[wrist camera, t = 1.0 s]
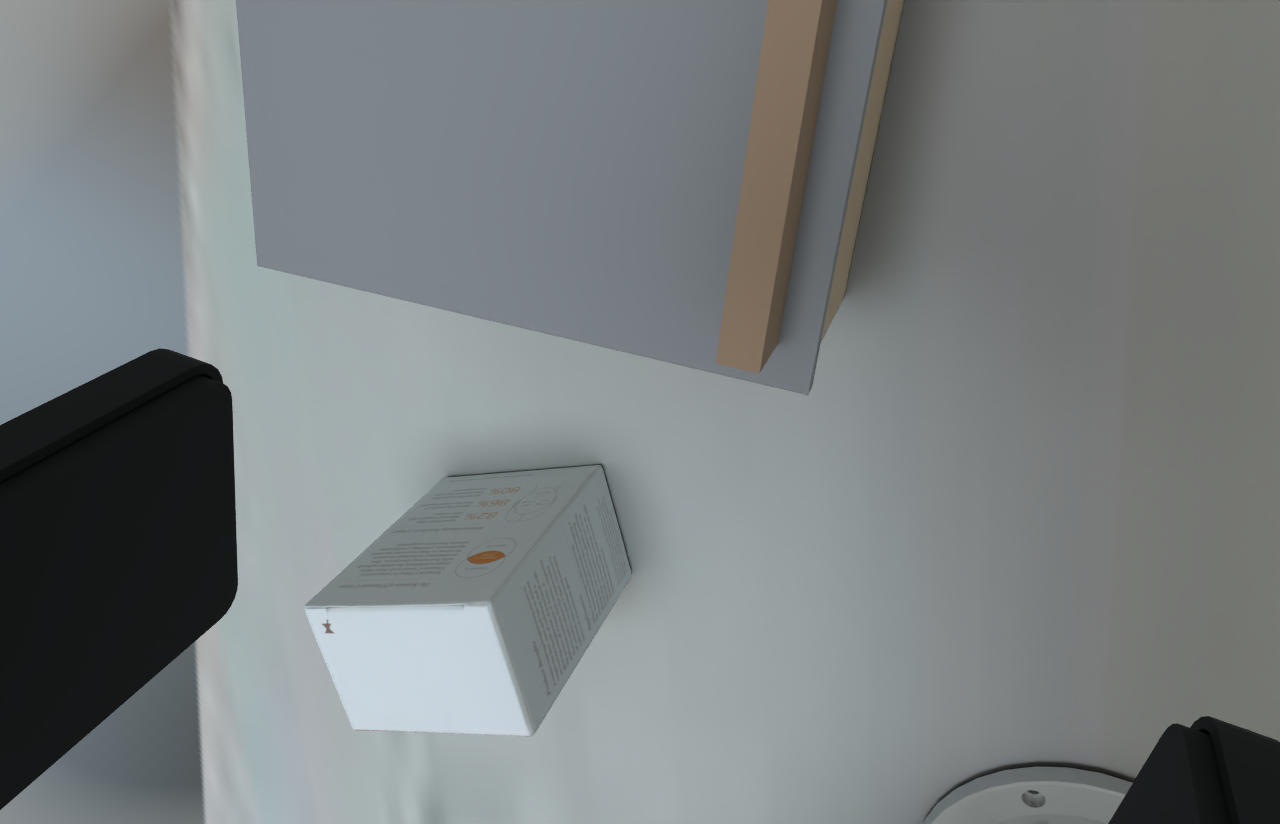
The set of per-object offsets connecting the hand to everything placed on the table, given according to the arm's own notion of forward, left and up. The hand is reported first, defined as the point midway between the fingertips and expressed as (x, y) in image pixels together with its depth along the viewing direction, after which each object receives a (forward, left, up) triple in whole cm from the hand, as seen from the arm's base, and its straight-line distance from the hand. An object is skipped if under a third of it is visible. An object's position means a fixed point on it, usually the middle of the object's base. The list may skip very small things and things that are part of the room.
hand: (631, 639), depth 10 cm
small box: (+12, +18, -27) cm, 35 cm away
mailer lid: (+10, -2, -19) cm, 22 cm away
